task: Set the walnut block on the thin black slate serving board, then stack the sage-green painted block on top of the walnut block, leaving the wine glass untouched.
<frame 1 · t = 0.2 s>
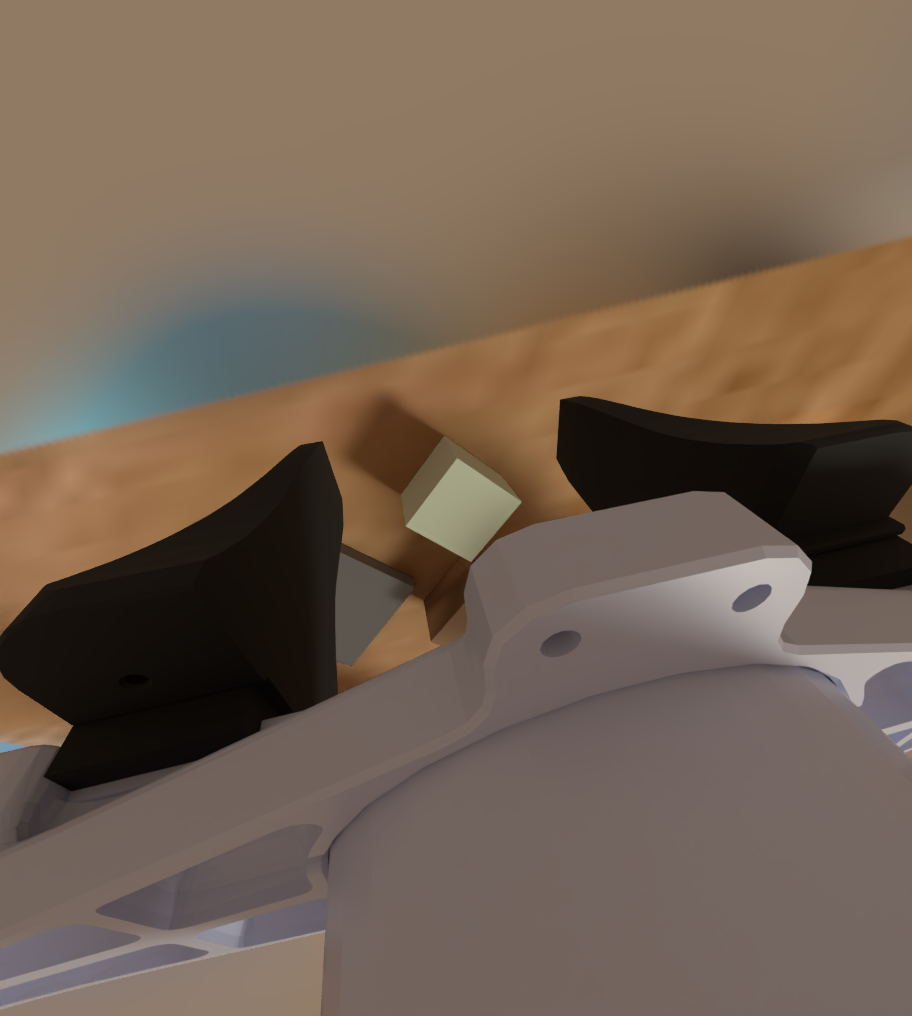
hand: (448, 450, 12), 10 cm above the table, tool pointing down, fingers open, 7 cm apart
walnut block: (466, 589, 28), on the table
sage cube: (451, 484, 24), on the table
slate board: (330, 597, 26), on the table
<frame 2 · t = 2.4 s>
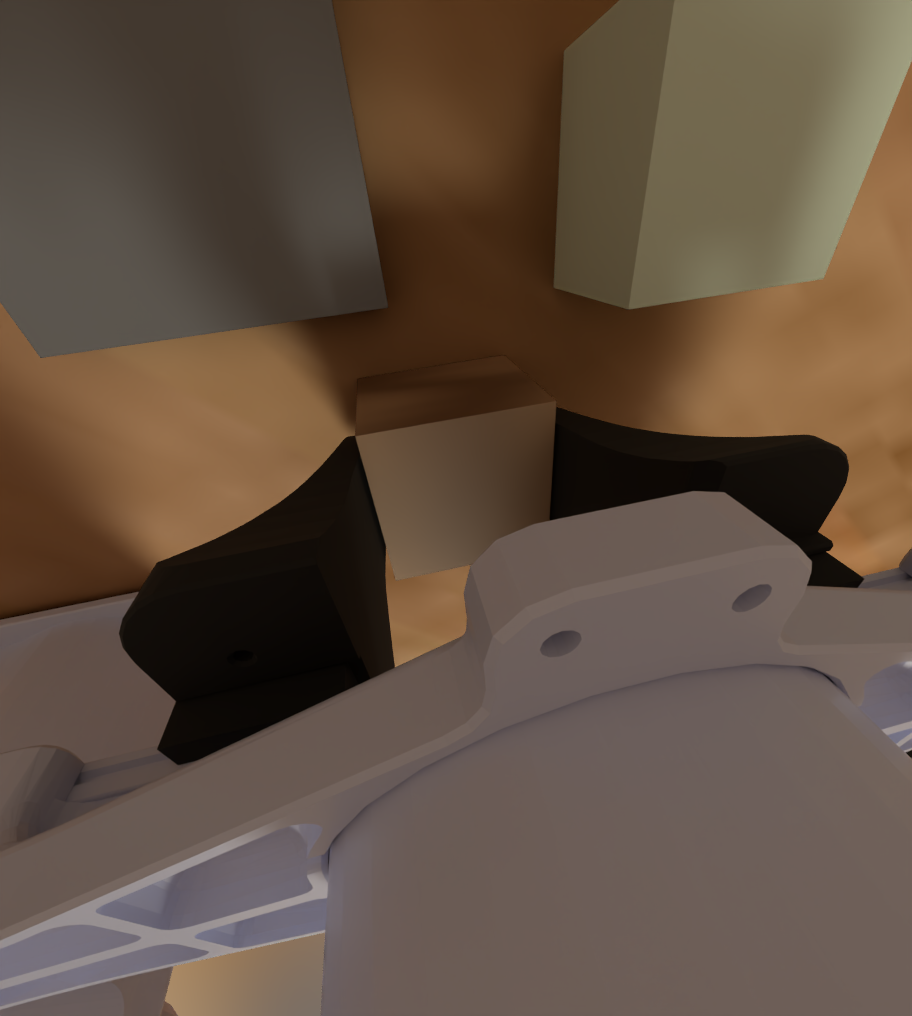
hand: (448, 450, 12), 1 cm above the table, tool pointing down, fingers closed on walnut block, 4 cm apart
walnut block: (441, 434, 13), on the table, touching gripper
sage cube: (639, 175, 10), on the table
slate board: (142, 103, 8), on the table
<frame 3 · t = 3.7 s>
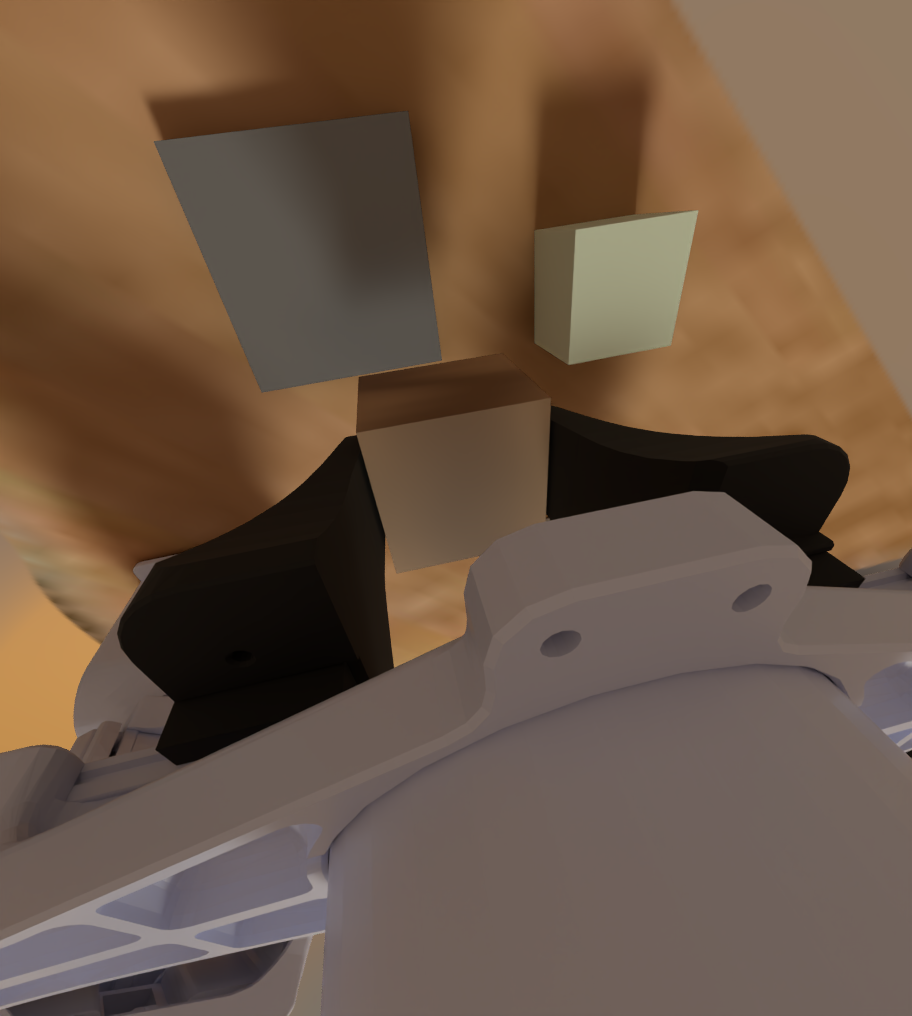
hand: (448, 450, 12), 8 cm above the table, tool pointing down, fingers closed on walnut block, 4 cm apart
walnut block: (441, 431, 13), point 7 cm above the table, touching gripper
sage cube: (580, 282, 18), on the table
slate board: (326, 269, 15), on the table
when the fingers open (3 cm above the table, at t = 5.4 s): walnut block stays where it is, resting on slate board.
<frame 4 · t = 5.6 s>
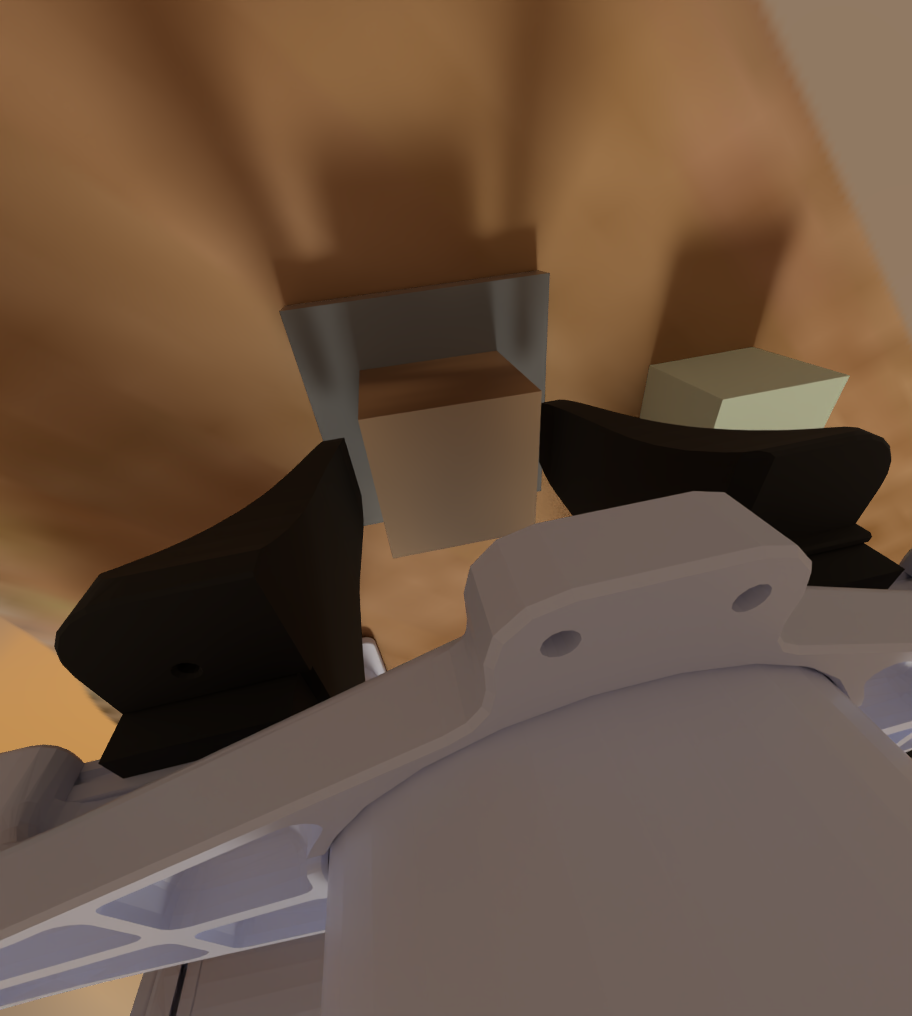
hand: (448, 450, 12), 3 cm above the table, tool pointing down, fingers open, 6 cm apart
walnut block: (437, 424, 14), point 1 cm above the table, touching slate board
sage cube: (685, 408, 17), on the table
slate board: (432, 408, 14), on the table
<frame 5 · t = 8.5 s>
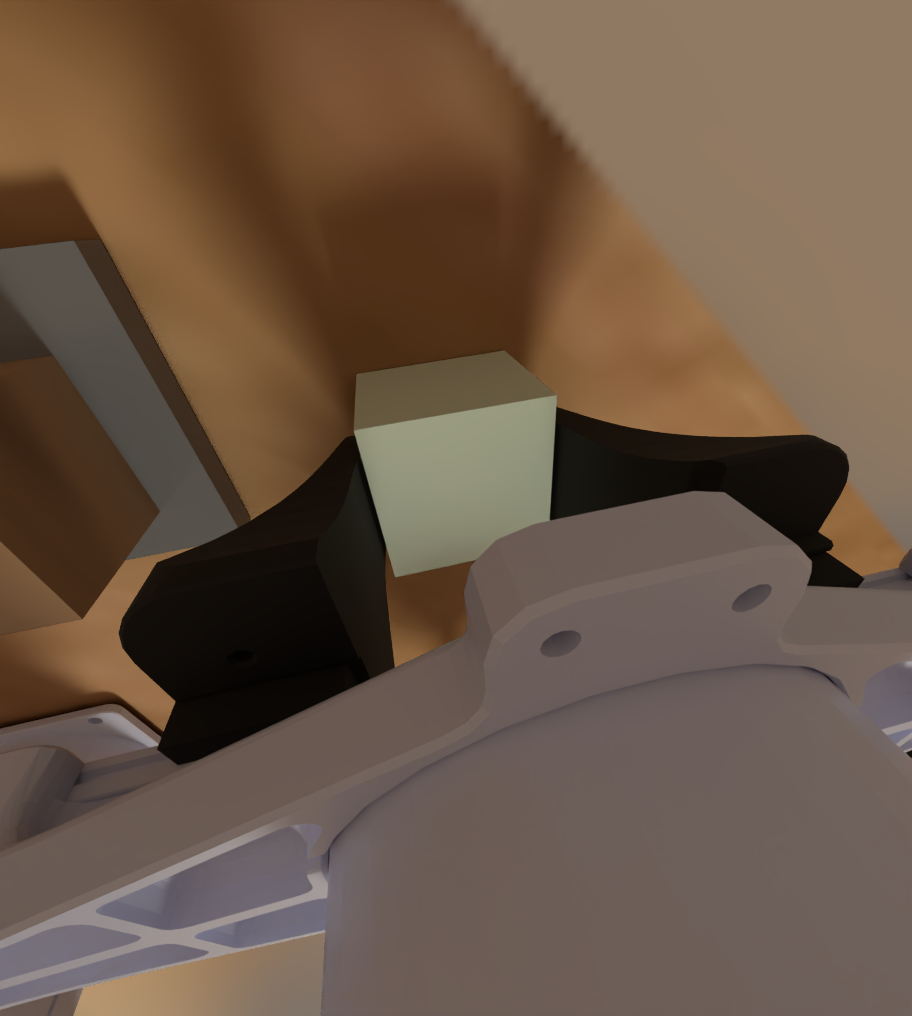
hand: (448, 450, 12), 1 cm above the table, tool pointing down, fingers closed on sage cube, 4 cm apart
walnut block: (20, 458, 10), point 1 cm above the table, touching slate board
sage cube: (440, 430, 13), on the table, touching gripper
slate board: (40, 434, 11), on the table
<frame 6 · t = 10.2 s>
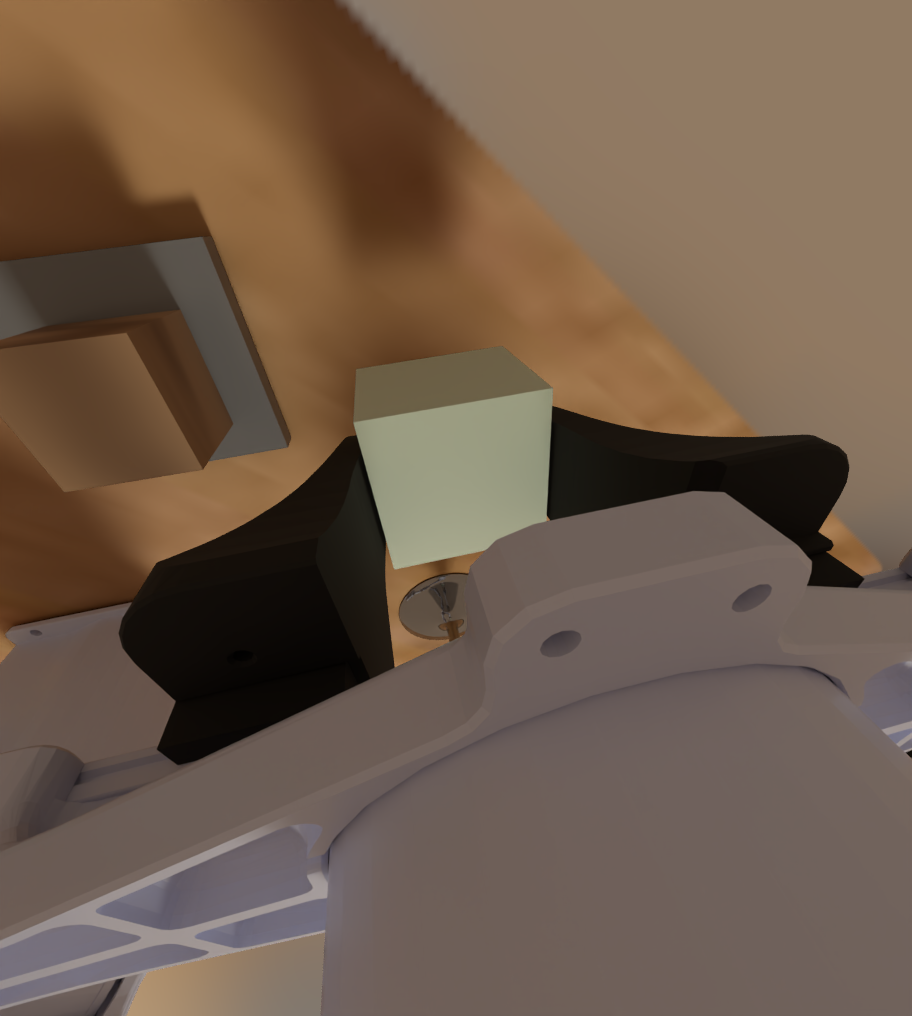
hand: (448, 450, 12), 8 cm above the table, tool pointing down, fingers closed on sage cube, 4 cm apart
wine glass: (447, 606, 28), on the table
walnut block: (149, 380, 15), point 1 cm above the table, touching slate board
sage cube: (439, 425, 13), point 6 cm above the table, touching gripper
slate board: (157, 367, 16), on the table
when the fingers open (7 cm above the table, at t = 12.0 s): sage cube stays where it is, resting on walnut block.
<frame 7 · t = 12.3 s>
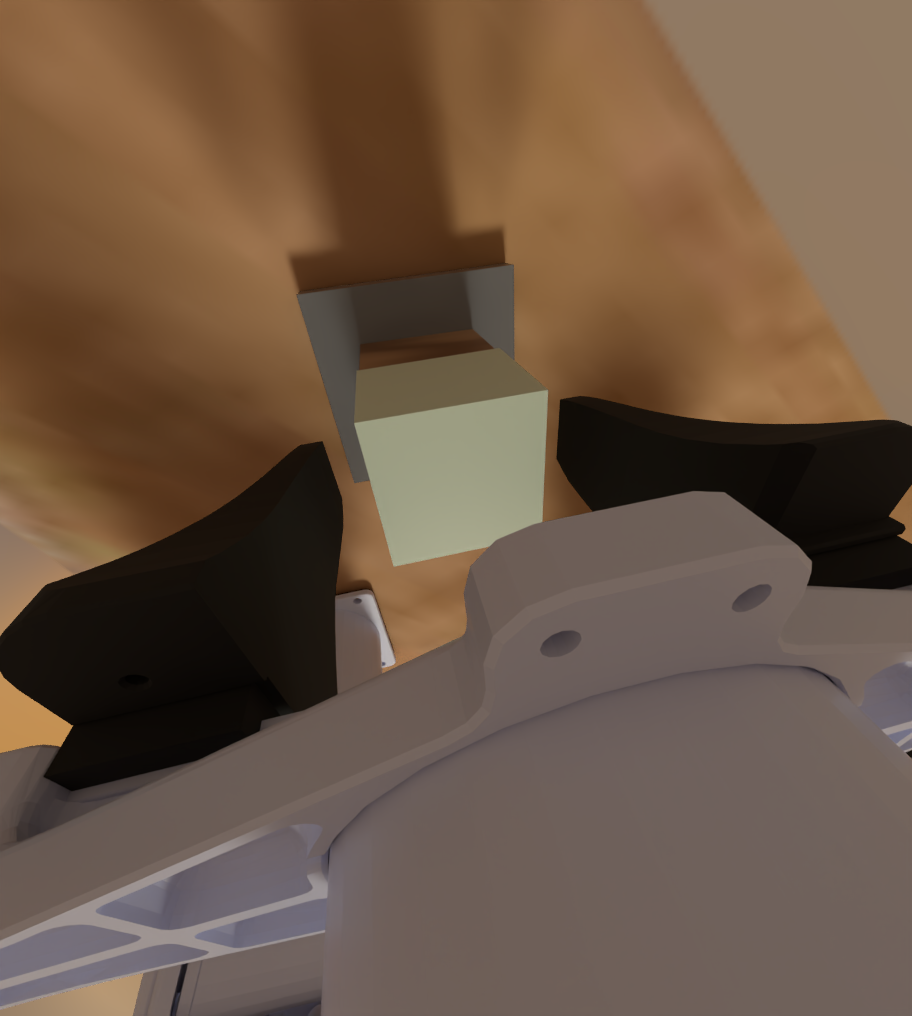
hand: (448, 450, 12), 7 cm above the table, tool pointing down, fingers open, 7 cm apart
walnut block: (424, 392, 17), point 1 cm above the table, touching sage cube, slate board
sage cube: (438, 426, 13), point 5 cm above the table, touching walnut block
slate board: (421, 380, 17), on the table
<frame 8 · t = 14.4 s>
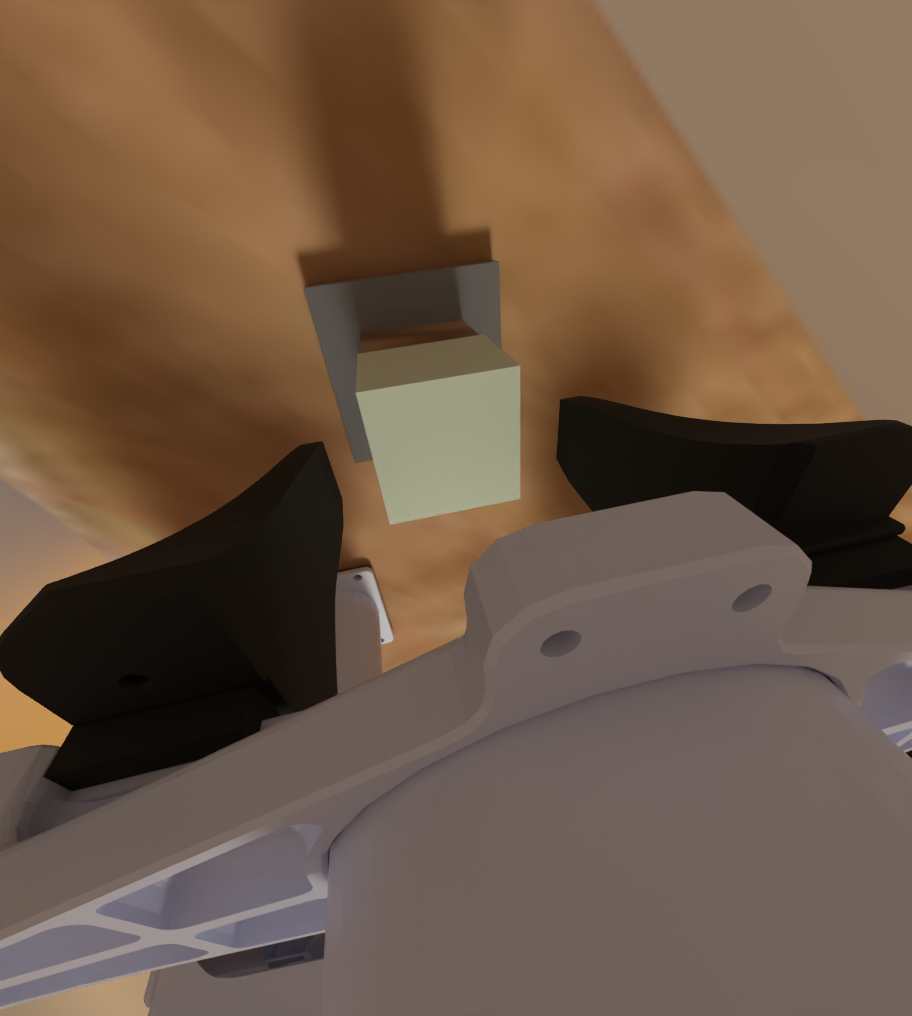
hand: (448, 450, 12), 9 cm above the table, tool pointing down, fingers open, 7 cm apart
walnut block: (419, 378, 18), point 1 cm above the table, touching sage cube, slate board
sage cube: (430, 405, 15), point 5 cm above the table, touching walnut block
slate board: (416, 367, 19), on the table
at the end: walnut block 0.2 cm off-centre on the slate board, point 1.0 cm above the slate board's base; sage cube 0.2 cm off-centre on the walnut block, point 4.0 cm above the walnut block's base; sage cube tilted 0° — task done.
